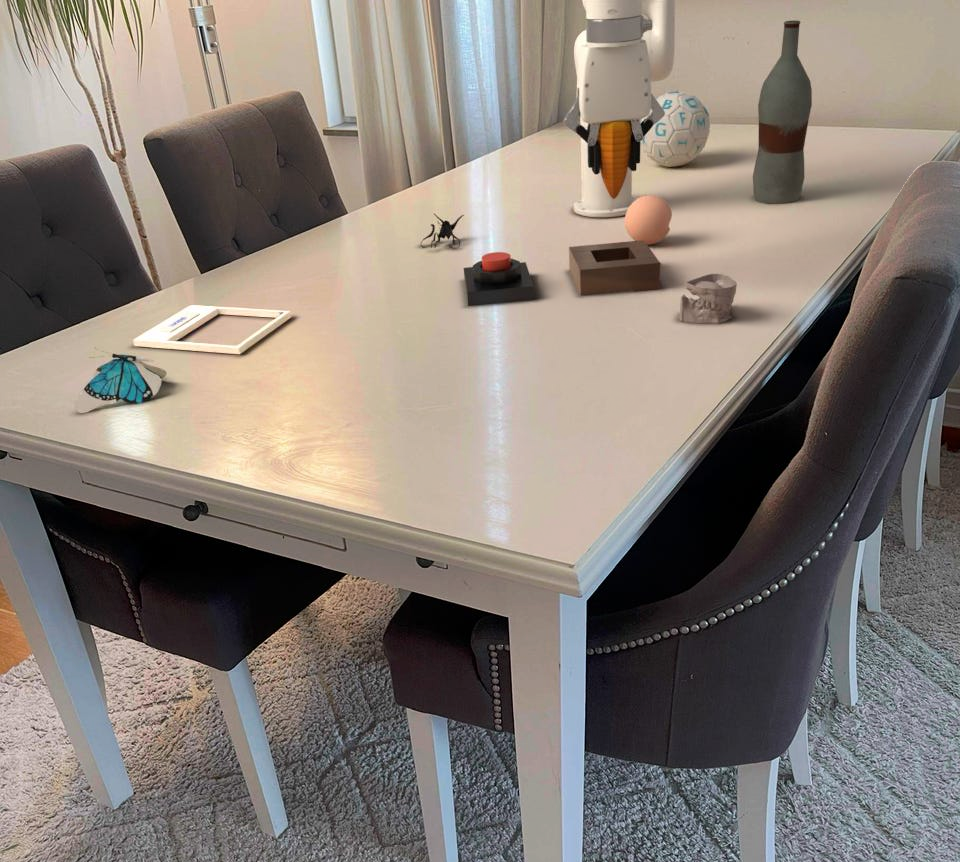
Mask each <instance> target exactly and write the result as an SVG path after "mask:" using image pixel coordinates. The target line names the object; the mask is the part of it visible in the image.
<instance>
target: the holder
mask: <svg viewBox="0 0 960 862" xmlns="http://www.w3.org/2000/svg"><path fill="white" fill-rule="evenodd" d="M648 245H649V244H646V242H645V241H644V240H640V241H635V240H630V241H629V240H628V241H619V242H608V243H599V244H598V243H597V244H596V243H595V244H588V245H587V244H586V245H585V244H584V245H575V246H569V247H568V263H569V264H568V265H569V267H568V268H569V273H570V275H571V277H572V280H573V282H574V284H575V286H576V289H577V291H578V293H579V296H581V297H582V296H583V297H584V296H593V295H605V294H615V293H626V292H641V291H650V290H660V287H661V262H660V260H659V259H658V258H657V257H656V255H655V253H654V252H653V250H652V249H651V248H650V247H649V246H648Z"/></svg>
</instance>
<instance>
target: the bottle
mask: <svg viewBox="0 0 960 862" xmlns="http://www.w3.org/2000/svg"><path fill="white" fill-rule="evenodd" d="M800 25H801V21H800V20H797V19H796V20H785V21H784V22H783V35H782V43H781V44H782V45H781V52H780V53H781V54H780V56H779V58H778V59H777V61H776V63H775V64H774V66H773V68H772V69H771V70H770V72H769V73H768V75H767V77H766V78H765V80H764V81H763V83H762V86H761V89H760V94H759V99H758V105H757V110H758V113H757V114H758V115H757V116H758V147H757V148H758V150H757V153H756V158H755V162H754V167H753V173H752V191H753V197H754V200H755V201H756V202H759V203H764V204H771V205H772V204H773V205H776V204H777V205H780V204H788V203H793V202H796V201H798V200H799V198H800V196H801V193H802V191H803V186H804V182H805V151H804V150H805V144H806V138H807V132H808V125H809V120H810V115H811V110H812V107H813V92H812V91H813V89H812V83H811V79H810V77H809V76H808V74H807V71H806V70H805V68H804V65H803V64H802V62H801V59H800V58H799V55H798V50H799V38H800V37H799V35H800Z"/></svg>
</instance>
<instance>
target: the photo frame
mask: <svg viewBox="0 0 960 862" xmlns="http://www.w3.org/2000/svg"><path fill="white" fill-rule="evenodd" d="M218 315H227V316H228V315H230V316H243V317H245V316H246V317H260V318H261V317H262V318H274V319H272V320H271V321H269V323H268V324H266V325H264V326H263V327H262V328H260V329H259V330H257V331H255V332H254V333H253V334H252V335H250V336H249V337H247V338H246V339H244V340H243V341H242V342H241V343H239V344H237V345H229V344H216V343H215V344H214V343H202V342H190V341H179V340H180V339H182V338H184V337H185V336H187V334H190V333H191V332H192V331H194V330H196V329H197V328H199V327H201V326H202V325H204V324H205V323H207V322H208V321H210V320H211V319H213V318H214V317H216V316H218ZM291 318H292V312H291V310H277V309H265V308H264V309H262V308H246V307H229V306H215V305H213V306H212V305H211V306H210V305H197V304H196V305H195V304H191V305H189V306H186V307H185V308H183V309H182V310H181V311H178V312H177V313H175V314H174V315H172V316H170V317H169V318H166V319H165V320H164V321H162V322H160V323H159V324H157V325H155V326H154V327H152V328H151V329H150V328H149V330H147V331H145V332H144V333H141V334H140V335H139V336H137V337H135V338H134V339H132V342H133V346H134V347H143V348H154V349H155V348H156V349H169V350H182V351H191V352H192V351H194V352H206V353H219V354H231V355H241V354H242V353H244V352H245V351H246V350H248V349H250V348H251V347H252V346H254V345H255V344H256V343H257V342H259V341H260V340H262V339H263V338H264V337H266V336H267V335H269V334H270V333H272V332H273V331H274V330H276V329H277V328H278V327H280V326H281V325H282V324H284V323H285V322H287V321H288V320H289V319H291Z"/></svg>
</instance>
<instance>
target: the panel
mask: <svg viewBox="0 0 960 862" xmlns="http://www.w3.org/2000/svg"><path fill="white" fill-rule="evenodd" d="M520 261H521V260H518V259H515V258H511V267H510V268H507V269H504V270H495V271H491V270H484V269H482V260H480V261H477V262H476V263H474V264H473V265H472V266H467V267H463V279H464V287H465V293H466V294H465V295H466V300H467V301H466V302H467V306H468V307H474V306H484V305H485V306H486V305H495V304H506V303H507V304H508V303H517V302H529V301H535V289H534V288H535V286H534V283H533V280H532V277H531V274H530V271H529V267H528V265H527V262H526V261H525V262H520Z"/></svg>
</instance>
